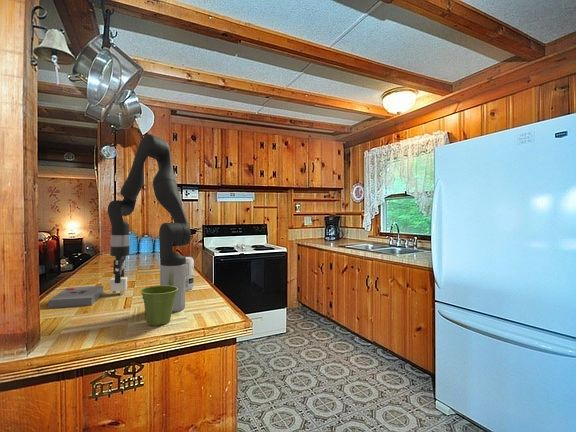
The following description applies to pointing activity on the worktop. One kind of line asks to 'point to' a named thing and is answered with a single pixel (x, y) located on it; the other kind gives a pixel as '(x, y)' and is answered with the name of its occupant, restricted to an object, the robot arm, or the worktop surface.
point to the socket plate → (76, 296)
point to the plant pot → (158, 303)
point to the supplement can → (189, 273)
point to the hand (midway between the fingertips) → (119, 280)
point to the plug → (118, 285)
